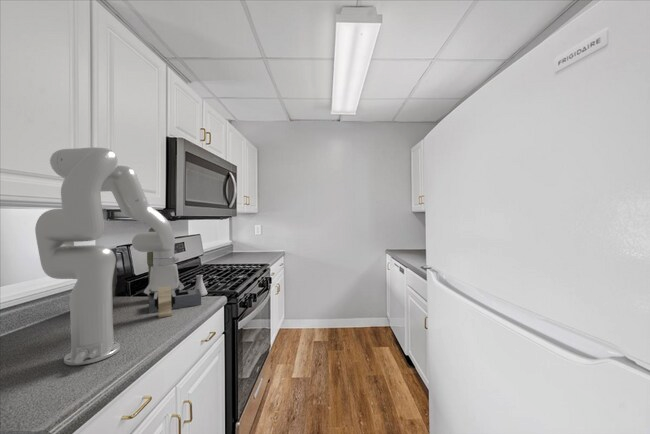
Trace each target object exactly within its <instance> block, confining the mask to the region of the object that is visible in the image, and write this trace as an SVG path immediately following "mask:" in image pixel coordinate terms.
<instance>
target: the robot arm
mask: <svg viewBox="0 0 650 434" xmlns="http://www.w3.org/2000/svg"><path fill="white" fill-rule="evenodd" d="M49 164H50V167H51V168H52V171H53V172H55V174H57V175H58V176H59V177H61V178H63V182H62V184H61V188H60V198H61V200H60V201H61V208H54V209H49V210H46V211H45V212H43V213H41V215H39V217H38V219H37V220H36V223H35V227H34V229H35V230H34V232H35V239H36V246H37V251H38V256H39V261H40V265H41V268H42V270H43V272H44V274H46V275H47V276H48V277H50V278H51V279H56V280H57V279H58V280H76V282H75V284H74V286H72V287H73V288H72V289H71V291H70V296H69V311H70V313H69V314H70V315H69V316H70V348H71V349H70V352H69V353H67V354H66V355H65V356H64V358H63V363H64V365H68V366H83V365H88V364H93V363H97V362H100V361H103V360H105V359H108V358H110V357H112V356H114V355H115V354H117V353H118V352H119V351H120V349H121V343H119V342H118V341H117V342H116V341H114V312H113V311H114V309H113V307H114V306H113V305H114V304H113V279H114V273H115V269H116V263H117V262H116V260H117V257H116V255H115V253H114V251H113V250H112V249H110V248H108V247H107V246H104V245H95V244H93V245H92V244H91V245H88V244H87V245H86V244H85V245H75V242H76V243H77V242H79V243H80V242H92V241H97V240H98V239H100V238H102V237H103V235H104V233H105V222H104V221H105V220H104V212H103V206H102V196H101V193H103V192H111V193H112V195H113V198H114V199H115V201H116V204H117V205H118V207H119V209H120V212H121V213H122V214H123V215H124V216H125V217H127V218H129V219H132V220H135V221H137V222H139V223H143V224H145V225H147V226H149V227H150V228H153V229H154V230H155V231H156V232H149V231H143V232H138V233H137V234H135V235H134V236H133V238H132V240H131V245H132V247H133V249H134V250H135V251H137V252H141V253H142V252H143V253H147V252H153V266H151V271H150V284H149V283H148V285H147V286H146V287H145V289H144V291H143V294H145V295H147V296H148V295H150V296H151V297H152V298H154V299H155V307H157V309H159V307H158V287H166V286H171V293H172V296H171V307H173V304H175V296H176V295H177V294H178V293H179V291H183V290H184V288H185V285H184V284H183V283H182V282H181V281H180V279H179V269H178V264H177V263H176V262H179V257H175V245H176V237H175V234H174V231H173V228H172V226H171V224H170V221H169V220H168V219H167V218H166V217H165V216H164V215H163V214H162V213H160V212H159V211H158V210H156V208H154V207H152V206H151V205H150V203H149V202H148V199H147V197H146V195H145V192H144V189H143V187H142V185H141V182H140V180H139V178H138V176H137V173H136V171H135V170H134V169H133V168H131V167H130V166H128V165H127V166H126V165H118V157H117V154H116V153H115V152H114V151H113V150H111V149H109V148H105V147H80V148H79V147H78V148H77V147H75V148H63V149H58V150H56V151H55V152H53V153H52V154H51V156H50V158H49ZM149 289H150V290H151V291H153V292H155V294H154V293H153V292H151V291H149Z"/></svg>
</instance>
